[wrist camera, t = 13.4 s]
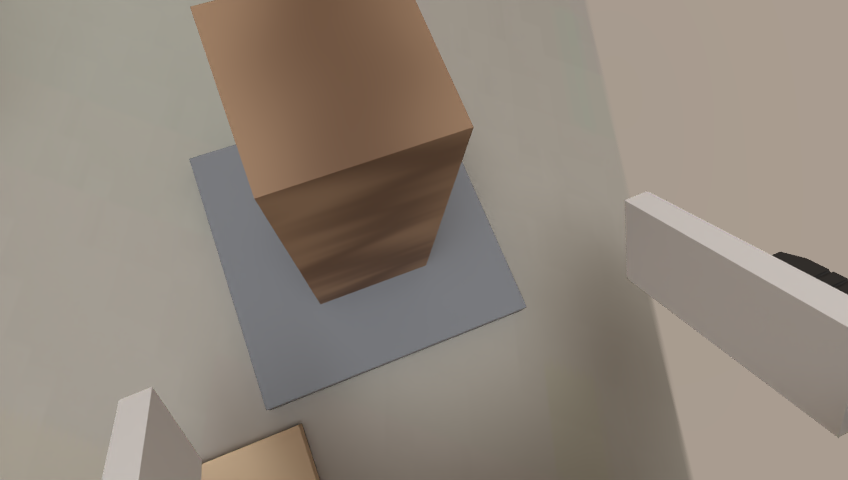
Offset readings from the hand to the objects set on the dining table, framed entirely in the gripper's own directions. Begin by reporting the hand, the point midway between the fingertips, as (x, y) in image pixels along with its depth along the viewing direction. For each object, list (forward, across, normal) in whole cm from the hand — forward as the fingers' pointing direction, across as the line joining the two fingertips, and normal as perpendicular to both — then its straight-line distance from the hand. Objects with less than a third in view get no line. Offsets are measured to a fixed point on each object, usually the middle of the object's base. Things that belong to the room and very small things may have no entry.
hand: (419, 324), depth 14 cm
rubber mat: (+12, 0, -3) cm, 12 cm away
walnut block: (+11, 0, -2) cm, 11 cm away
